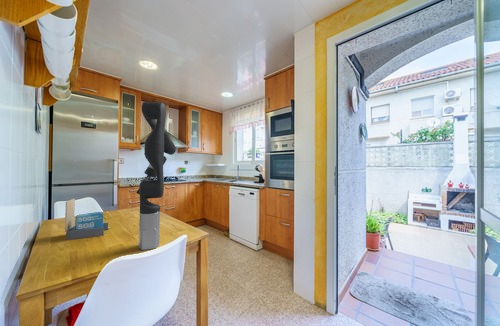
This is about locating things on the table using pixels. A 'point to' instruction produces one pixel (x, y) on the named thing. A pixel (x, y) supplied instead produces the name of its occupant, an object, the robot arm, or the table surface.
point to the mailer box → (70, 227)
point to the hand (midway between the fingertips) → (137, 193)
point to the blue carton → (89, 221)
